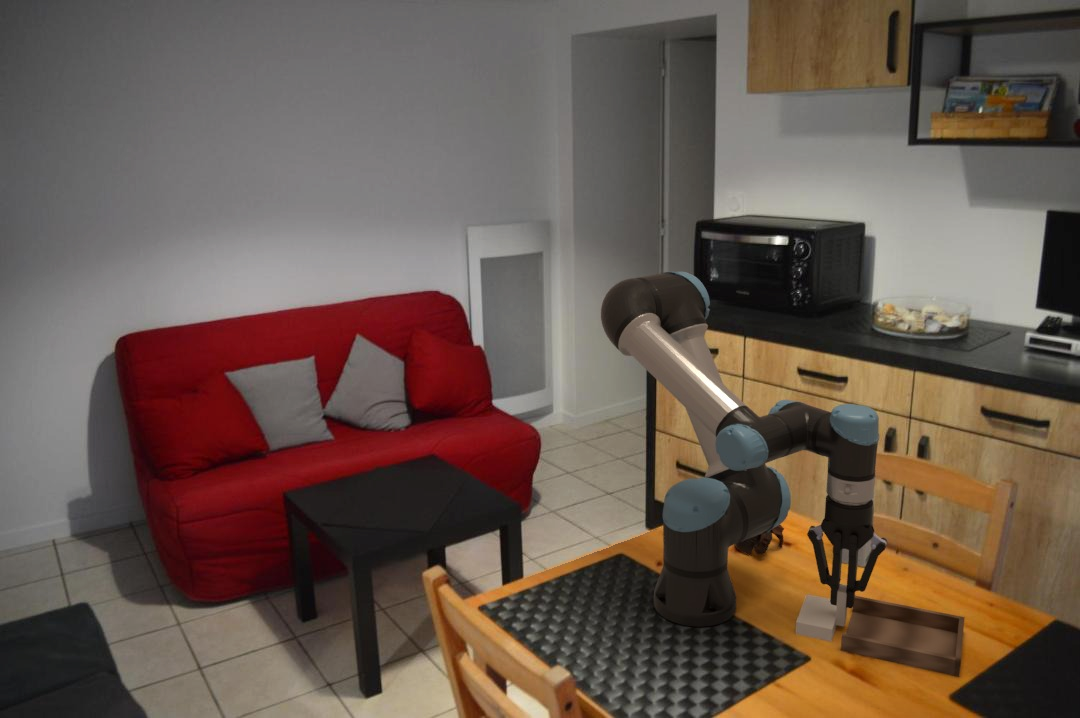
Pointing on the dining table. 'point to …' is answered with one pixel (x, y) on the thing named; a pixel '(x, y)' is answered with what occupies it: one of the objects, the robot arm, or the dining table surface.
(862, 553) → the syrup box
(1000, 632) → the dining table surface
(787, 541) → the dining table surface
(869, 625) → the walnut box
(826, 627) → the light grey block
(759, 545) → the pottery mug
